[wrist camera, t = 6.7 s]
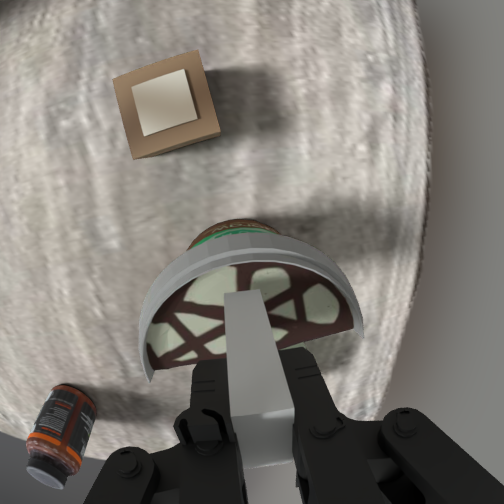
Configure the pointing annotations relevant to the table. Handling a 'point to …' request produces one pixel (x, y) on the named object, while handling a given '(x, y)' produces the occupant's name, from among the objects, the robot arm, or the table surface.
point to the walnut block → (166, 105)
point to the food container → (242, 279)
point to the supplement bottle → (60, 436)
